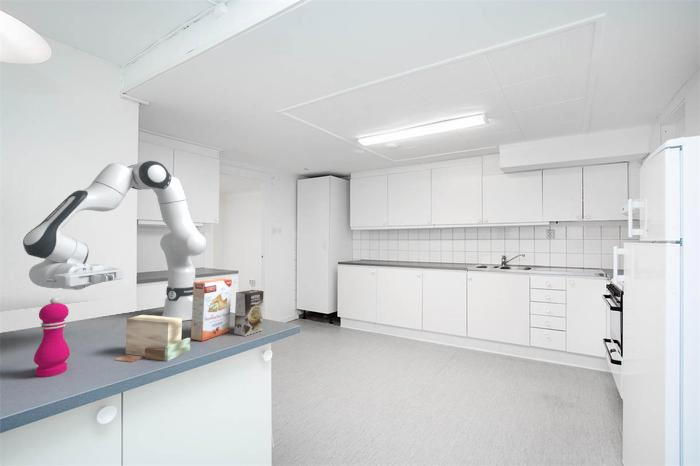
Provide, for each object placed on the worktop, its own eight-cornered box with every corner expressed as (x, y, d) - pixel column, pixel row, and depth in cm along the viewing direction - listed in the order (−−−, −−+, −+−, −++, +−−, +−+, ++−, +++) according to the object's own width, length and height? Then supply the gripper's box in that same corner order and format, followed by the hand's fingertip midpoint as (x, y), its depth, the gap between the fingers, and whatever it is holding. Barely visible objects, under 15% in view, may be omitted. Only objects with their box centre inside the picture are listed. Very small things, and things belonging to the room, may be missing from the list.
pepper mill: (67, 374, 89) (70, 298, 89) (30, 380, 84) (33, 301, 85) (70, 365, 94) (73, 294, 95) (35, 370, 90) (38, 296, 91)
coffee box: (245, 336, 126) (246, 293, 126) (233, 333, 129) (235, 291, 129) (263, 331, 134) (264, 290, 134) (251, 328, 137) (252, 289, 137)
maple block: (141, 347, 111) (142, 314, 111) (180, 352, 108) (182, 318, 108) (125, 354, 105) (126, 318, 105) (167, 358, 102) (168, 322, 102)
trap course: (143, 341, 117) (144, 329, 117) (196, 346, 113) (197, 334, 113) (98, 358, 100) (98, 344, 100) (158, 365, 96) (159, 351, 96)
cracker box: (202, 342, 118) (204, 282, 118) (190, 339, 120) (192, 281, 121) (230, 332, 131) (232, 278, 131) (218, 330, 133) (220, 277, 134)
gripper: (42, 270, 103) (79, 272, 100) (103, 264, 123) (135, 265, 120) (42, 290, 103) (78, 293, 100) (103, 281, 123) (135, 283, 120)
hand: (110, 278), depth 110 cm, fingers closed
